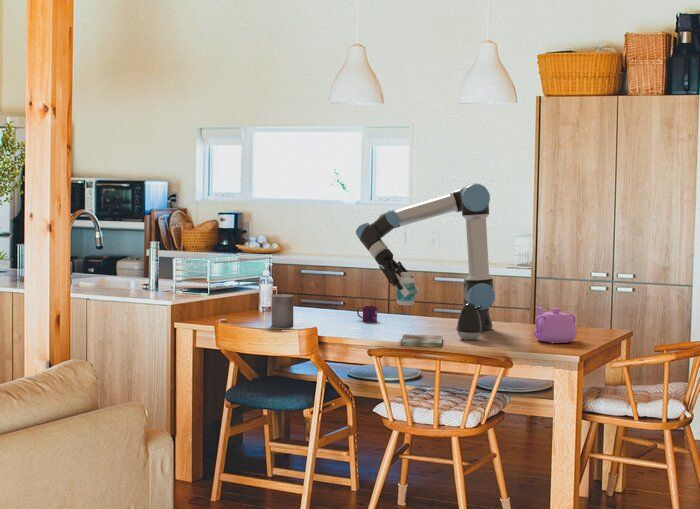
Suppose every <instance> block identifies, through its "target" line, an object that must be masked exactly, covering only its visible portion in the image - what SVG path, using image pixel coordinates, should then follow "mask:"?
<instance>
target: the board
mask: <svg viewBox="0 0 700 509" xmlns="http://www.w3.org/2000/svg"><path fill="white" fill-rule="evenodd" d="M399 343H400V344H399V345H400V346H404V347H426V348H429V347H430V348H442V345H443V335H434V334H433V335H431V334H430V335H428V334H411V333H409V334H408V333H406V334H405V333H403V335H402V336H401V339H400V342H399ZM441 344H442V345H441Z"/></svg>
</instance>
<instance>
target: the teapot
mask: <svg viewBox="0 0 700 509" xmlns="http://www.w3.org/2000/svg"><path fill="white" fill-rule="evenodd" d="M535 307H536V309H537V310H536V311H537V315H536V317H535V320H534V323H535V324H534V325H535V326H534V329H533V331H532V336H533V337H535V338H536V339H537V341H540V342H545V343H551V342H553V343H556V344H561V343H564V344H565V343H567V344H569V343H572V342H573V341H574V340H575V339H576V337H577V332H578V330H577V328H576V322H577V321H576V320H577V318H576V316H575V314H572V313H566V312H561V308H558V307H553V308H551V310H552V311H547V312H546V311H545V312H543V308H542V307H541V306H539V305H535ZM568 342H569V343H568ZM553 343H552V344H553Z"/></svg>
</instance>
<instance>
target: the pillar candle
mask: <svg viewBox="0 0 700 509" xmlns="http://www.w3.org/2000/svg"><path fill="white" fill-rule="evenodd" d="M271 327H273V328H290V327H294V295H293V294H289V293H276V294H271Z"/></svg>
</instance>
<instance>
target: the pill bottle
mask: <svg viewBox="0 0 700 509" xmlns="http://www.w3.org/2000/svg"><path fill="white" fill-rule="evenodd" d="M411 276H412V277H413V274H412V272H409V271H408V272H401V277H400V276H399V277H397V278H398V280H399V282H400V281H401V282H402V283H403V285H404V286H405V287H406V289H407V290H408V291H409V294H408V295H407V296H406V297H404V296H403V294H402V293H401V292H400V290H399V289H398V288H397V287H396V304H397V305H400V306H412V305H414V304H415V295H414V290H415V285H416V283H415V282H416V281H415V279H414V277H413V278H411Z"/></svg>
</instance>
